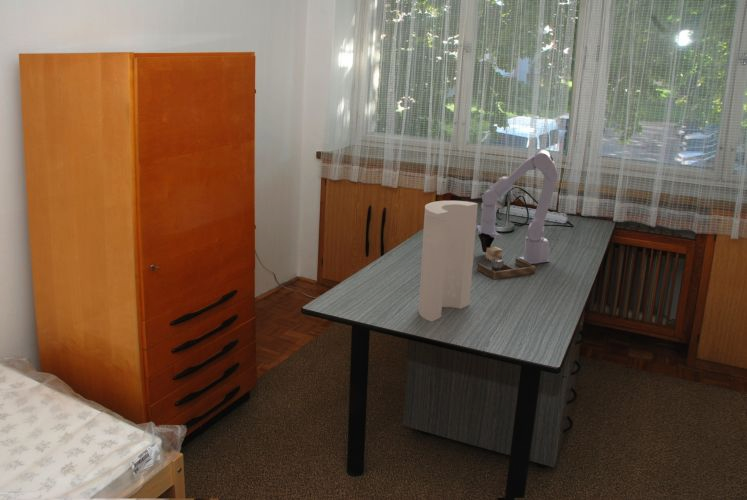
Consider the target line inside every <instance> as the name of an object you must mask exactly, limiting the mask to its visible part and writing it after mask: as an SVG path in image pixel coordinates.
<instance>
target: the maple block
mask: <svg viewBox="0 0 747 500" xmlns="http://www.w3.org/2000/svg"><path fill="white" fill-rule="evenodd" d="M503 252H504V251H503V249H502V248H500V247H497V246H490V247H489V248H487V251H486V252H485V254H486V255H485V259H486V258H487V259H486V260H488V259H489V261H490V260H491V262H492V259H502V260H503Z"/></svg>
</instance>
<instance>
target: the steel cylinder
mask: <svg viewBox="0 0 747 500" xmlns="http://www.w3.org/2000/svg"><path fill="white" fill-rule="evenodd" d="M503 263H504V260H503V258H502V259H492V261H491V267H490V269H491V270H493V271H495V272H496V271H503Z"/></svg>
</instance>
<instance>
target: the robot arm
mask: <svg viewBox="0 0 747 500" xmlns="http://www.w3.org/2000/svg"><path fill="white" fill-rule="evenodd" d="M555 162H556V161H555V158H554V156H553V155H552V154H551V152H550V151H548V150H547V149H540V150H538V151H537V152H536V153H535V154H532V155H531V156H530V157H528V158H527V159H526V160H524V161H523V162H522V163H520V165H519V166H518V167H517V168H516V169H515V170H513V172H511V173H510V175H508V176H501V177H498V178H497V181H496V182H495V183H494V184H493V185H491V186H490V185H489V187H488V189H487V190H486V191H484V193H483V194H482V197H481V200H482V207H481V216H480V225H479V224H476V231H477V233H479V234H478V238H479V240H480V244H481V249H482V252H483V253H486V251H487V248H489V247H492V243H493V242H494V240H500V238H501V234H500V233H498V232H497V231H496V220H497V219H496V218H497V202H498V200H499V199H501V198H503V196H504V195H506V194H507V193H508V192H509V191H510V190H512V189H513V187H514V182H516V181H517V180H518V179H519V178H521V177H522V176H523V175H525V174H526V173H527V172H528V171H536V169H537V170H538V171H540V172H541V173H542V175H543V176H544V182H543V184H542V189H541V192H540V196H539V199H538V201H537V205H536V209H535V212H534V215H533V219H532V220H531V222H530V223H529V225H528V228H527V230H526V236H525V241H524V252H523V256H519V257H518V259H520V260H522V261H524V262H526V263H528V264H530V265H533V264H541V263H548V262H550V260H549V255H550V248H551V246H550V242H549V240H548V239H547V238H545V237H544V232H545V221H546V217H547V214H548V211H549V208H550V204H551V201H552V198H553V193H554V192H555V191H554V190H555V188H556V184H557V182H558V178H559V172H558V169H557V166H556V165H557V164H556V163H555ZM476 231H475V232H476Z"/></svg>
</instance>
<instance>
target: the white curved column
mask: <svg viewBox="0 0 747 500" xmlns="http://www.w3.org/2000/svg"><path fill="white" fill-rule="evenodd" d="M423 217H424V218H423V233H422V234H423V235H422V246H421V247H422V251H421V263H420V265H421V266H420V283H419V296H418V297H419V299H418V300H419V301H418V313H419V314H418V315H420V317H422V318H423V319H424V320H426V321H428V322H429V323H430V322H433V321H436V320H438V319H440V318H442V310H443V308H455V309H459V310H461V309H463V308H466V307H469V306H470V301H471V300H470V299H471V291H472V290H471V289H472V276H473V265H474V254H475V253H474V252H475V243H476V242H475V241H476V226H477V218H478V203H477V202H472V201H466V200H465V201H464V200H438V201H436V200H435V201H432V202H429V203H427V204H425V205H424V216H423Z"/></svg>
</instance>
